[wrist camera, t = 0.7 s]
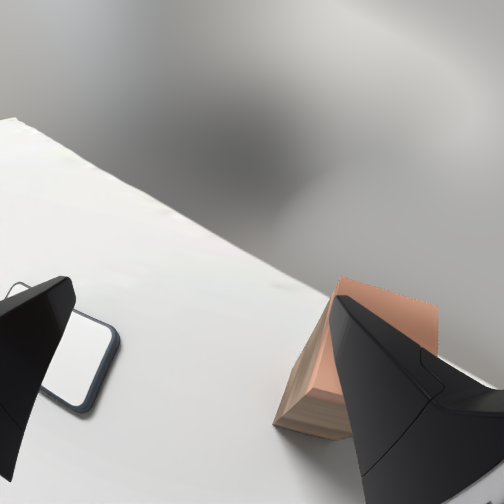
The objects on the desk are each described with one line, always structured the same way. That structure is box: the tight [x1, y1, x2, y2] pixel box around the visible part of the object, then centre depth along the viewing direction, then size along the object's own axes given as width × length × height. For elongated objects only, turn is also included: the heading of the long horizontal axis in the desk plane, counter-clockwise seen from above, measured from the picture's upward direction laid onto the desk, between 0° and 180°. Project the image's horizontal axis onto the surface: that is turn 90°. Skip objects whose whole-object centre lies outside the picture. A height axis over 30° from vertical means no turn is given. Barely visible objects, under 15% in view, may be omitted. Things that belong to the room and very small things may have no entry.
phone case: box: [5, 282, 120, 413], centre depth 21 cm, size 9×2×16 cm
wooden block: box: [272, 276, 438, 440], centre depth 15 cm, size 5×5×13 cm
